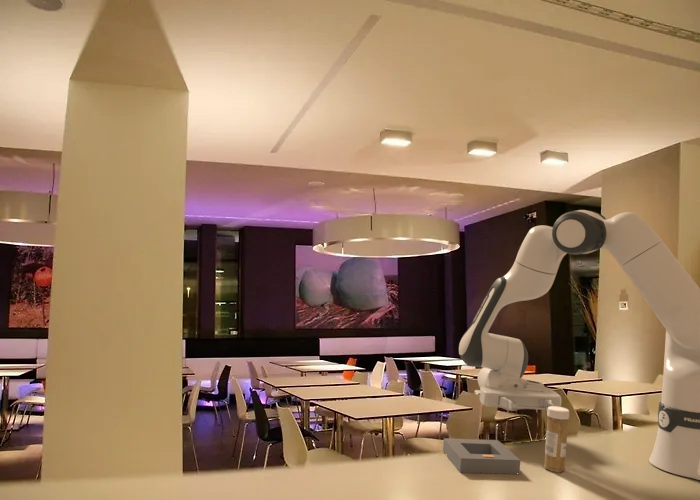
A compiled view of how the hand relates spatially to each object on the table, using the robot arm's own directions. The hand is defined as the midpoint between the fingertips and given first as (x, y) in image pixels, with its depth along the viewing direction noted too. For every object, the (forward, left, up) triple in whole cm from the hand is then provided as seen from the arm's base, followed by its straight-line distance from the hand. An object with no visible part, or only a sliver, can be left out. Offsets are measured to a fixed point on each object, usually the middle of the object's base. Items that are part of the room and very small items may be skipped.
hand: (532, 407), depth 145 cm
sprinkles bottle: (0, +12, -10) cm, 16 cm away
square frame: (+16, +9, -10) cm, 21 cm away
